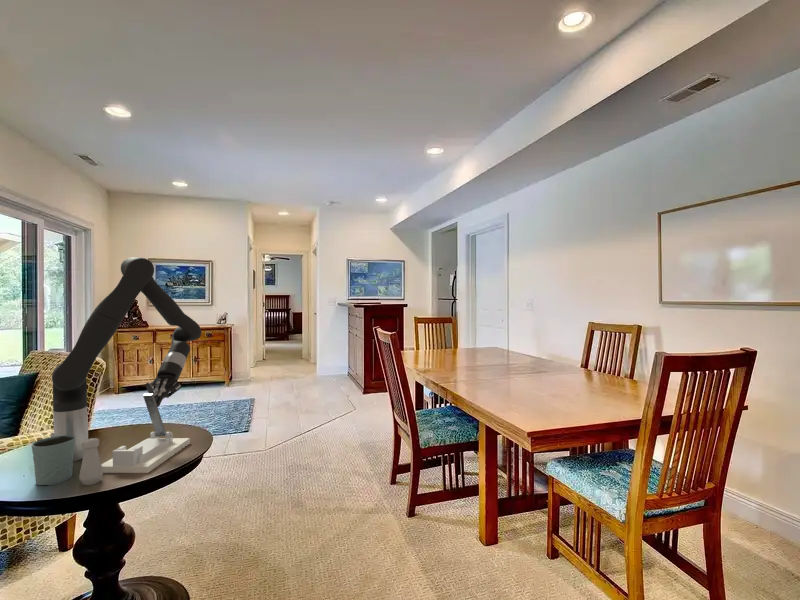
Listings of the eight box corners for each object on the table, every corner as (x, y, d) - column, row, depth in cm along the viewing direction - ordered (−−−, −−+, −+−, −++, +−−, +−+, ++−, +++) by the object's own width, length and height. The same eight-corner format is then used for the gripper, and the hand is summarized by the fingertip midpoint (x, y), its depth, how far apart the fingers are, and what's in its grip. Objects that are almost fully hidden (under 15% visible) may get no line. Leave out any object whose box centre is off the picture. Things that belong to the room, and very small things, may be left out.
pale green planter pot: (26, 489, 120) (25, 448, 120) (40, 475, 130) (39, 437, 129) (69, 483, 124) (68, 443, 124) (80, 469, 134) (79, 432, 133)
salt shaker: (90, 487, 121) (89, 443, 121) (74, 486, 122) (72, 442, 122) (108, 478, 127) (107, 436, 127) (92, 477, 128) (91, 435, 128)
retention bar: (142, 395, 143) (144, 393, 144) (156, 436, 151) (158, 434, 152) (151, 395, 143) (153, 393, 144) (165, 436, 151) (166, 434, 152)
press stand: (97, 472, 131) (97, 451, 131) (147, 443, 156) (147, 425, 156) (147, 472, 131) (147, 451, 131) (189, 443, 156) (189, 425, 156)
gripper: (150, 360, 156) (130, 402, 144) (185, 360, 156) (167, 401, 144) (159, 372, 162) (140, 412, 150) (193, 371, 162) (176, 412, 150)
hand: (153, 407), depth 147 cm, fingers closed
